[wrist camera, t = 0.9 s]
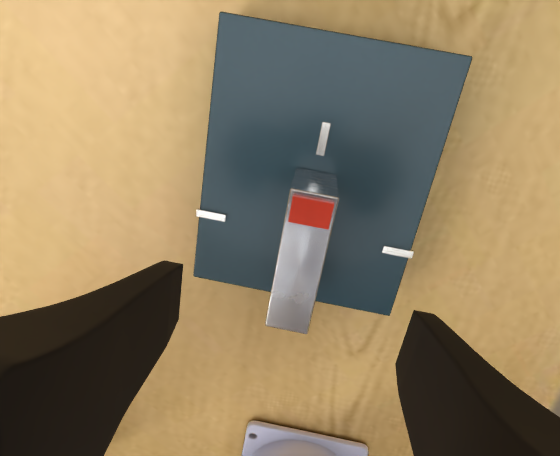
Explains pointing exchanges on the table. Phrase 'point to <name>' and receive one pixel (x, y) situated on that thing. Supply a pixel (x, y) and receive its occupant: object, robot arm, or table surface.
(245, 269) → the tap console
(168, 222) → the table surface
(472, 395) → the robot arm
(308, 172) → the tap handle
